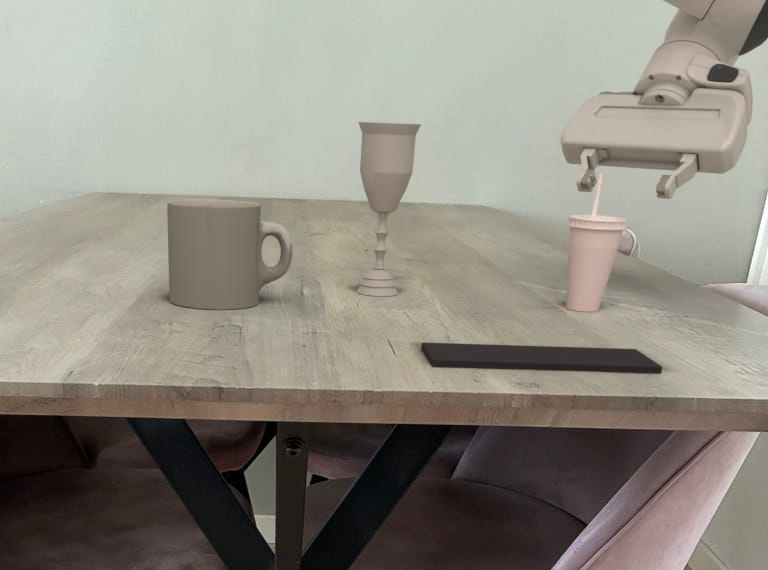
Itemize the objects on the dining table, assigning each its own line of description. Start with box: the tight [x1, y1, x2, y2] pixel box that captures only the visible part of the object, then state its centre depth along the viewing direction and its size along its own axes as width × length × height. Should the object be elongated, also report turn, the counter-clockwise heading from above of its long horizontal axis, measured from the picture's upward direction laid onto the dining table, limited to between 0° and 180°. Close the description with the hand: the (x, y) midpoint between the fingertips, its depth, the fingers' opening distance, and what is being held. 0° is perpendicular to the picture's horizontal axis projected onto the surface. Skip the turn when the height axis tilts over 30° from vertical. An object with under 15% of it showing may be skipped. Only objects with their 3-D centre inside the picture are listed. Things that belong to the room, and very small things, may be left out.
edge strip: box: [420, 342, 663, 375], centre depth 85 cm, size 20×7×1 cm, turn 91°
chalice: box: [355, 121, 422, 297], centre depth 111 cm, size 7×7×18 cm
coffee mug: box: [166, 198, 293, 311], centre depth 104 cm, size 13×10×10 cm
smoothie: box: [565, 173, 629, 313], centre depth 106 cm, size 6×6×14 cm
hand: (621, 191), depth 107 cm, fingers open, 8 cm apart
